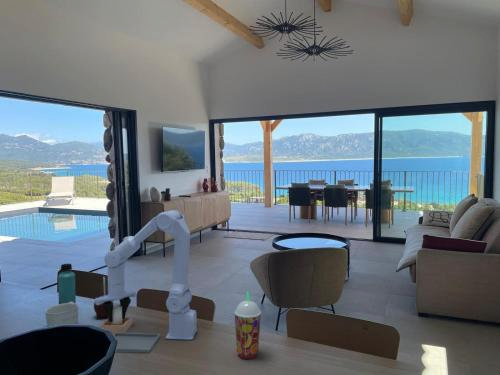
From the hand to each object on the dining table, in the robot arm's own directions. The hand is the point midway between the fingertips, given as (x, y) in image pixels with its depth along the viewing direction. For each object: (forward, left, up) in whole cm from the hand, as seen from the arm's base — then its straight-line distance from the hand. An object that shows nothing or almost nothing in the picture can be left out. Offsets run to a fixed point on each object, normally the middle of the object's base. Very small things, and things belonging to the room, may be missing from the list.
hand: (116, 319), depth 139 cm
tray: (-10, +12, -4) cm, 16 cm away
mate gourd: (+10, -11, -4) cm, 15 cm away
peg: (0, 0, -3) cm, 3 cm away
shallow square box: (0, 0, -4) cm, 4 cm away
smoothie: (-49, +16, -4) cm, 52 cm away
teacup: (+20, -1, -4) cm, 20 cm away
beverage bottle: (+27, -15, -4) cm, 31 cm away
